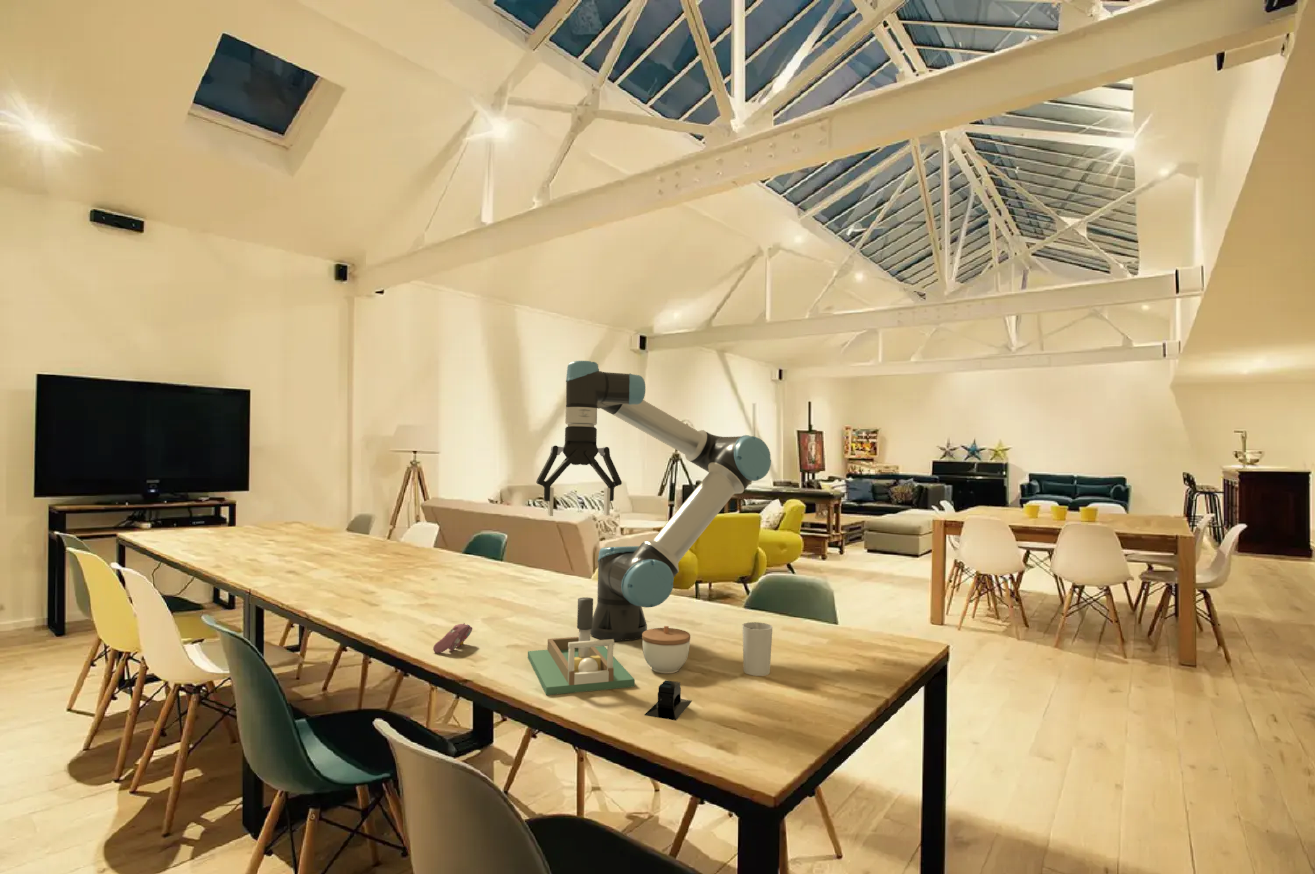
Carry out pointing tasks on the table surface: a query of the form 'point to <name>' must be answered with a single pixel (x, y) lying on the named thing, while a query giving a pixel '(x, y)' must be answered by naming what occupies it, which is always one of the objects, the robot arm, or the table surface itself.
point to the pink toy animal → (453, 638)
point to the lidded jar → (665, 648)
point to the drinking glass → (757, 648)
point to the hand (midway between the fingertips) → (578, 515)
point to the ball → (588, 665)
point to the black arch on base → (669, 702)
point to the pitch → (559, 667)
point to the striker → (585, 630)
